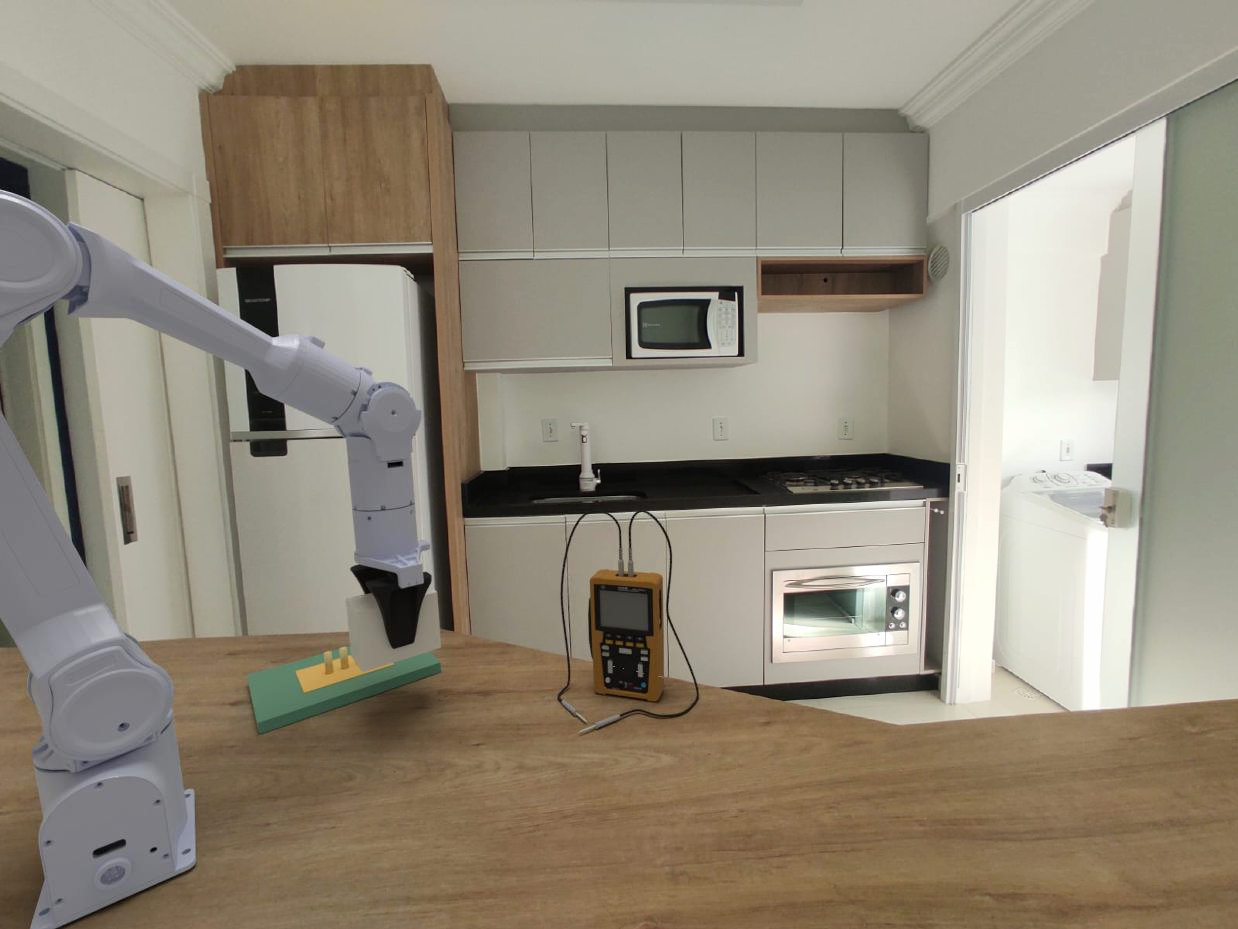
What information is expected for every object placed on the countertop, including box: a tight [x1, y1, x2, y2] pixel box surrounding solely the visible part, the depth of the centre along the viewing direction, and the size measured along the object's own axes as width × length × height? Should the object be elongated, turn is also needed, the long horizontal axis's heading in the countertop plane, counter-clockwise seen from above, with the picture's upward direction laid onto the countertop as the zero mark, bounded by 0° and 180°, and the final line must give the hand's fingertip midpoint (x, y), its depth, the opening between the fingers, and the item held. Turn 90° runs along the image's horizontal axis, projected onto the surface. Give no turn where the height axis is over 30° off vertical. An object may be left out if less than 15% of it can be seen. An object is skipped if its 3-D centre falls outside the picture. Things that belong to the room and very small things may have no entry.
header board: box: [246, 645, 442, 735], centre depth 63 cm, size 12×18×4 cm, turn 128°
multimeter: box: [556, 509, 700, 734], centre depth 54 cm, size 15×10×20 cm
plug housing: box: [345, 585, 442, 672], centre depth 55 cm, size 4×8×6 cm, turn 128°
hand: (395, 636), depth 55 cm, fingers closed on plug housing, 4 cm apart
